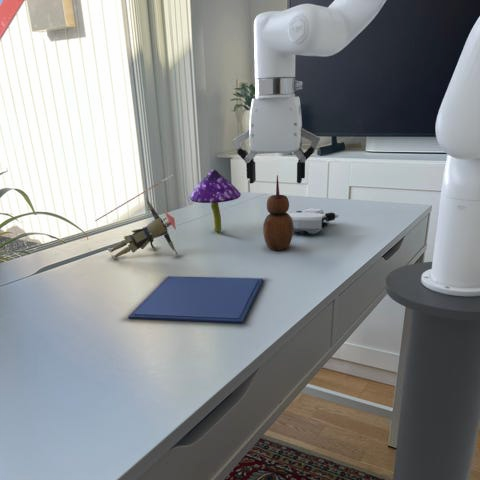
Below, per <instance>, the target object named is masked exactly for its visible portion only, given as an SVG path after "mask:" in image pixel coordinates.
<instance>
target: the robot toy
mask: <svg viewBox="0 0 480 480" xmlns="http://www.w3.org/2000/svg"><path fill="white" fill-rule="evenodd" d="M287 213H288V214H289V215H290V216H291V218H292V221H293V234H294V233H298V232H299V231H306V233H308V234H312V235H313V234H314V235H315V234H318V233H319V232H320V231H321V230H322V229H324V228H326V227H328V225H330V223H331V222H332V221H335V219H338V218H339V214H337V213H335V212H331V211H330V212H326V213H325V212H324V209H322V208H305V209H304V210H303V211H301V210H296V211H295V212H287Z"/></svg>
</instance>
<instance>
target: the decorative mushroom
mask: <svg viewBox="0 0 480 480" xmlns="http://www.w3.org/2000/svg"><path fill="white" fill-rule="evenodd" d="M241 195H242V193H241V192H240V190H239V189H237V188H236V187H235V186H234V185H233V184H232V183H231V182H230V181H229V180H228V179H227V178H226V177H224V176H223V175H222V174H221V173H220V172H218V170H216V169H210V170H209V171H208V173H207V174H206V176H205V177H204V178H202V180H201V181H199V183H198V184H197V185H196V186H195V188H194V189H193V191H192V193H190V196H189V198H188V199H189V200H190V201H191V202H193V203H199V204H210V207H211V211H212V216H213V231H214V233H220V232H222V217H221V216H222V215H221V211H220V207H219V206H220V205H219V203H225V202H226V203H227V202H231V201H235V200H238V199H239V198H240V197H241Z"/></svg>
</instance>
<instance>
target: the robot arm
mask: <svg viewBox="0 0 480 480" xmlns="http://www.w3.org/2000/svg"><path fill="white" fill-rule="evenodd" d="M386 2H387V0H333V1H332V2H331V3H330V4H329V6H323V5H318V4H313V3H301V4H298V5H295V6H292V7H289V8H287V9H284V10H270V11H264V12H261V13H259V14H257V15H256V17H255V18H254V21H253V47H254V48H253V49H254V50H253V51H254V52H253V53H254V55H253V56H254V83H255V84H254V86H255V87H254V89H255V92H254V94H255V97H254V98H252V99H251V103H250V111H249V129H248V130H247V131H245V132H243V133H242V134H239V136H237V137H235V138H234V139H232V141H231V143H232V146H233V147H234V149H235V151H236V153H237V155H238V156H239V157H240V158H241V159H242V160H243V161H244V163H246V166H245V167H246V179H247V180H249V184H254V183H255V182H256V181H257V179H256V178H257V177H256V176H257V175H256V173H257V172H256V161H255V159H254V158H255V157H256V156H257V154H288V153H289V154H291V153H293V155H295V157H296V158H297V159H298V161H297V163H296V183H297V184H302V180H303V179H306V161H307V160H308V159H309V158H310V157H311V156H312V155H313V154H314V153H315V151H316V149H317V147H318V145H319V143H320V141H321V138H320V136H317V135H316V134H314V133H312V132H310V131H308V130H306V129H305V128H303V120H302V107H301V99H300V96H296V92H298V91H299V90H303V89H304V81H299V80H297V78H296V56H303V57H305V56H306V57H330V56H335V55H336V54H338V53H339V52H342V50H344V48H346V47H347V46H348V45H349V44H350V43H351V42H352V41H354V40H355V38H357V37H358V35H359V34H360V33H362V32H363V30H365V29H366V28H367V26H368V25H370V23H371V22H372V21H373V20H374V19H375V18H376V16H377V15H378V14H379V13H380V11H381V9H382V8H383V6H384V4H386ZM437 112H438V113H437V116H436V119H435V125H434V126H435V129H434V130H435V138H436V141H437V143H438V145H439V147H440V148H441V149H442V151H443V152H444V153H445V154H446V159H445V160H446V161H445V164H444V170H443V176H442V182H441V189H440V190H441V191H440V197H439V206H438V213H437V221H436V230H435V237H434V238H435V239H434V245H433V246H434V247H433V254H432V261H431V262H432V269H430V270H427V271H425V272H424V273H423V274H422V277H421V283H422V284H423V285H424V286H425V287H427V288H428V289H430V290H433V291H435V292H438V293H442V294H447V295H453V296H463V297H476V296H480V16H479V17H477V20H476V21H475V23H474V25H473V27H472V28H471V30H470V32H469V34H468V37H467V38H466V40H465V43H464V45H463V49H462V51H461V54H460V55H459V58H458V61H457V64H456V66H455V69H454V71H453V74H452V76H451V79H450V81H449V83H448V86H447V89H446V91H445V94H444V96H443V98H442V101H441V104H440V106H439V109H438V111H437ZM303 138H304V139H306V140H307V141H310V145H309V146H308V149H307V150H305V151H303V149H302V148H301V147H302V145H303ZM246 140H248V145H249V152H248V151H247V150H246V149H245V148H244V147H243V145H242V142H245V141H246Z"/></svg>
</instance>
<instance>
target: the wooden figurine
mask: <svg viewBox="0 0 480 480" xmlns="http://www.w3.org/2000/svg"><path fill="white" fill-rule="evenodd" d="M275 185H276V187H275V194H273V195H270V196H269V197H268V198H267V200H266V210H267V213H269V214H267V215H266V216H265V219H264V221H263V228H262V232H263V233H262V234H263V237H264V242H265V244H266V246H267V248H269V250H271V251H283V250H286V249H288V248H289V247H290V245H291V243H292V239H293V235H294V233H293V221H292V218H291V216H290V215H289V214H288V213H289V212H288V211H289V209H290V201H289V198H288V197H287V195H285V194H280V184H279V175H278V174H277V175H276V184H275Z"/></svg>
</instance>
